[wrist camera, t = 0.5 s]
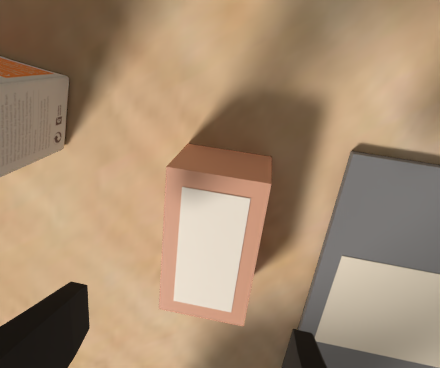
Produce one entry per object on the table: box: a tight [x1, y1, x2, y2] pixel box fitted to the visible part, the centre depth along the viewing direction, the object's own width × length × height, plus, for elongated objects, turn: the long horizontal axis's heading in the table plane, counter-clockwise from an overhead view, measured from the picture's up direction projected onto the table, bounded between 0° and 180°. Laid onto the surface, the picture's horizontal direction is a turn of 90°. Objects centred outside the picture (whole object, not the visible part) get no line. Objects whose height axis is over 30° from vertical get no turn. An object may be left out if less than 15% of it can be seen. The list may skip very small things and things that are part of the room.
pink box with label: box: [159, 144, 272, 327], centre depth 17 cm, size 8×4×4 cm, turn 173°
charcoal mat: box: [298, 151, 440, 368], centre depth 19 cm, size 18×12×1 cm, turn 173°
